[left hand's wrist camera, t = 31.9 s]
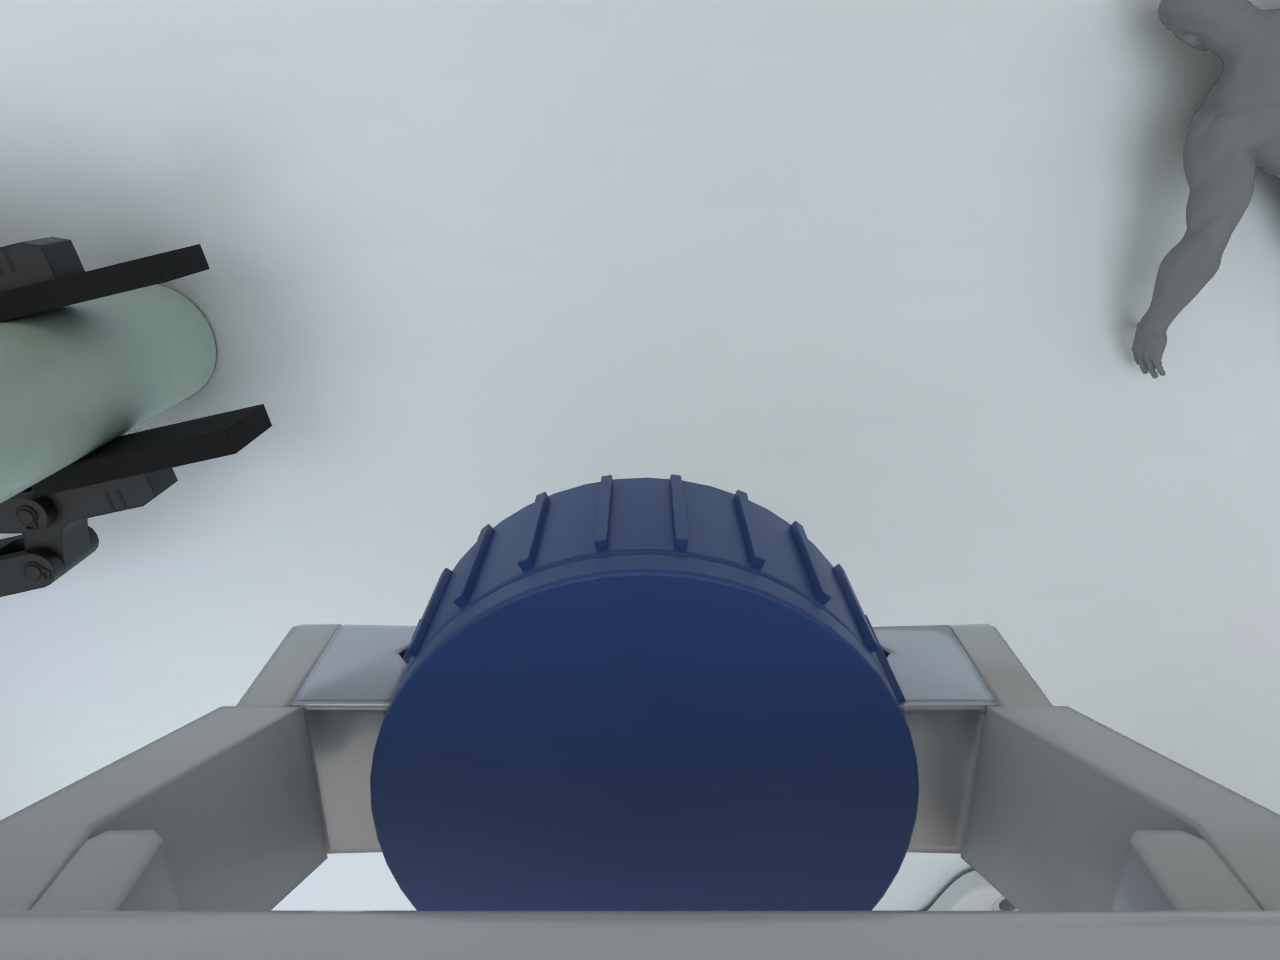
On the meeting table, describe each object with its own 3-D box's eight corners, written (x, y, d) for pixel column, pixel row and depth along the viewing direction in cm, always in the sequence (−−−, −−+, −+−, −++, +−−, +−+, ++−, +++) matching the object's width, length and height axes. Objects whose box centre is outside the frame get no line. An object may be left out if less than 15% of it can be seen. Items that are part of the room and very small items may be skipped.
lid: (601, 369, 9) (590, 439, 7) (967, 648, 10) (1050, 778, 8) (329, 709, 10) (256, 849, 8) (676, 917, 11) (683, 1082, 9)
